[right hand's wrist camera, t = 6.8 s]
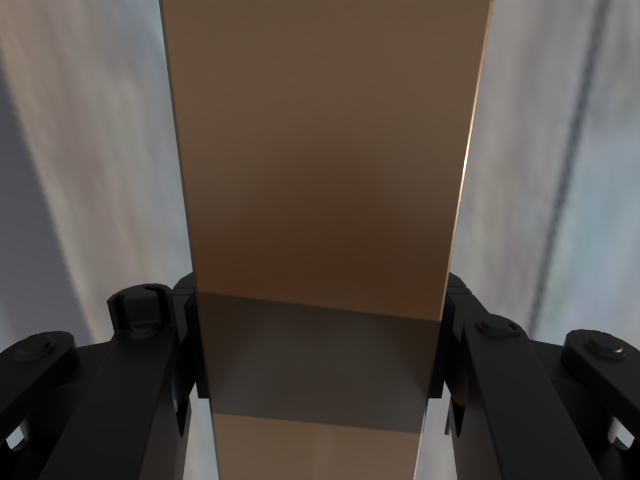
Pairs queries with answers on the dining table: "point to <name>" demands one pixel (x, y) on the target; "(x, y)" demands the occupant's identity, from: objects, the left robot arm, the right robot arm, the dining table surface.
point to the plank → (322, 219)
